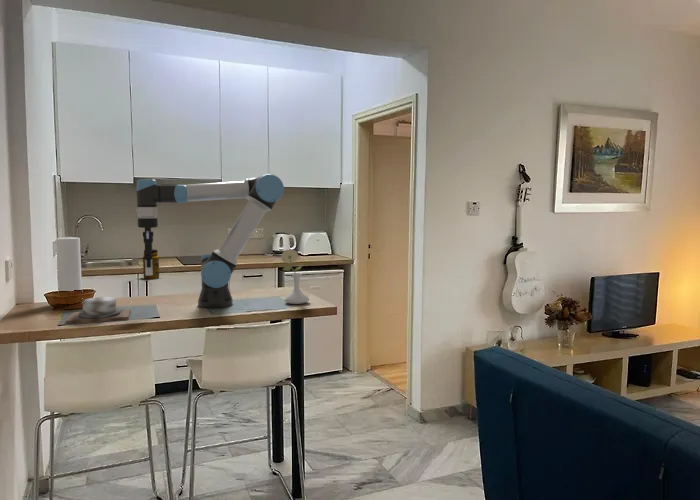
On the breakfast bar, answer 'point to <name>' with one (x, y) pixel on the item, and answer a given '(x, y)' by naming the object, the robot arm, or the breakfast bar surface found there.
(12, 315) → the breakfast bar surface
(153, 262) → the condiment
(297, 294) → the flower in vase
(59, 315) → the breakfast bar surface
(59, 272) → the cylinder container
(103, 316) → the duct base
